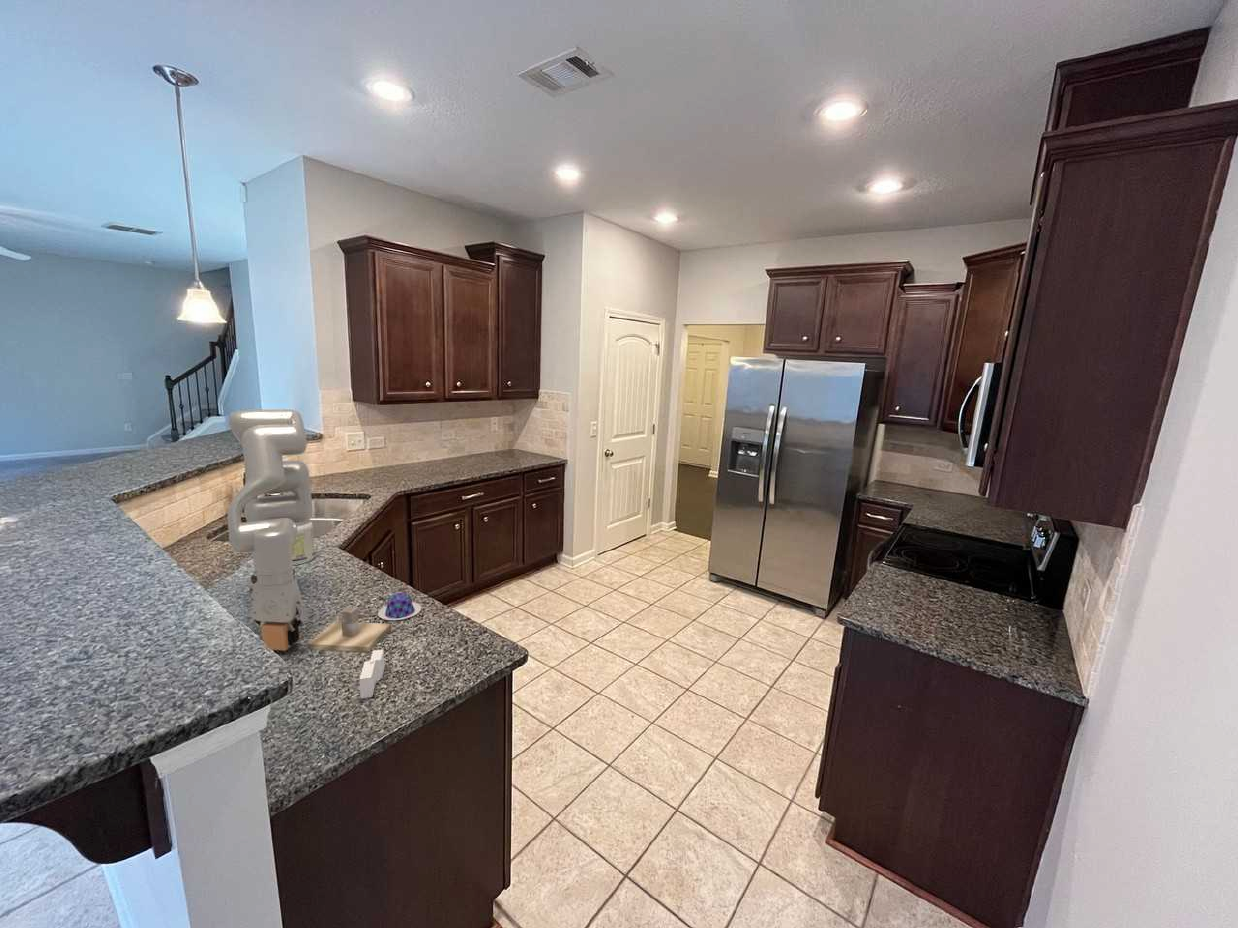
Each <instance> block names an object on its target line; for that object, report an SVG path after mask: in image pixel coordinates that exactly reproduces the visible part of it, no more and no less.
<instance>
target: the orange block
mask: <svg viewBox="0 0 1238 928" xmlns="http://www.w3.org/2000/svg"><path fill="white" fill-rule="evenodd" d="M292 622H293V620H292ZM293 624H294V622H293ZM261 628H262V629H261V635H262V637H261V638H262V643H263V642H264V643H265V644H266V646H267V647H268V648H270V649H272V650H271V651H285V652H286V651H287V650H288V649H289V648H291V646H293V645H289V642H288V631H289V628H288V626H287V623H278V622H265V623H264V624H262V625H261ZM298 628H299V629H300V626H299V627H298ZM300 638H301V636H300V634H299V640H301V639H300Z"/></svg>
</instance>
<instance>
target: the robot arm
mask: <svg viewBox="0 0 1238 928" xmlns="http://www.w3.org/2000/svg"><path fill="white" fill-rule="evenodd" d="M228 425H229V428H230V430H231V432H232V434H233V435H234V436H235V438H236V439H237V441H238V442H239V444H240V446H241V447H242V452H243V453H242V454H243V455H242V456H243V462H244V463H243V464H244V465H243V466H244V473H245V474H244V475H245V484H244V485H243V487H241V489H239V491H237V493H236V494H235V495H234V497H233V498H232V500H231V502H230V504H229V507H228V510H227V525H228V537H229V538H228V539H229V545H230V547H231V549H232V550H233V551H235V552H237V553H248V552H249V553H250V552H252V553H251V554H252V561H253V572H252V573H253V574H252V575H254V576H257V582H256V583H255V585H254V590H252V591H251V592H250V594H249V595H250V599H251V600H252V610H251V611H250V612H249V613H248V616H249V617H250V619H252V620H254V621H255V624H256V623H257V624H258V625H260V627H259V629H260V630H262V628H261V625H262V624H264V623H265V622H278V623H287V626H288V628H289V631H288V642H289V645H292V646H293V645H294V644H295V643H296V642H298V641H300V639H299V635H300V626H301V625H303V623H305V621H307V620H308V619H309V618H311V614H309V613H308V612H307V611H306V609H305V608H303V602H302V595H301V591H300V590H301V589H300V588H299V585H298V581H297V579H294V577H295V573H294V574H293V569H294V565H293V563H292V552H291V545H292V543H293V542H294V540H295V539H296V538H297V525H296V524H298V523H304V522H307V521H310V520H311V519H312V517H313V501H312V491H311V490H312V489H311V479H310V472H309V467H308V466H307V465H306V464H307V463H305V462H303V461H300V460H283V456H295V455H296V456H297V455H303V454H304V453H305V452H306V449H307V443H308V440H307V439H308V438H307V433H306V428H305V425H304V421H303V417H302V415H301V413H300V412H299V411H298V410H295V409H246V410H245V409H244V410H236V411H234V412H231V413H230V414H229V416H228ZM287 492H292V493H290V494H281V495H279V493H287ZM276 493H278V495H269V496H268V495H267V496H261V495H265V494H276ZM259 496H260V497H259ZM243 509H244V510H243ZM243 511H244V516H245V520H246V521H245V522H244V521H243V522H242V514H243V513H242V512H243ZM244 588H249V589H250V588H252V581H251V578H247V580H246V583H244ZM297 615H298V616H297ZM292 620H293V622H294V624H293V622H292ZM298 627H299V628H298Z"/></svg>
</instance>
